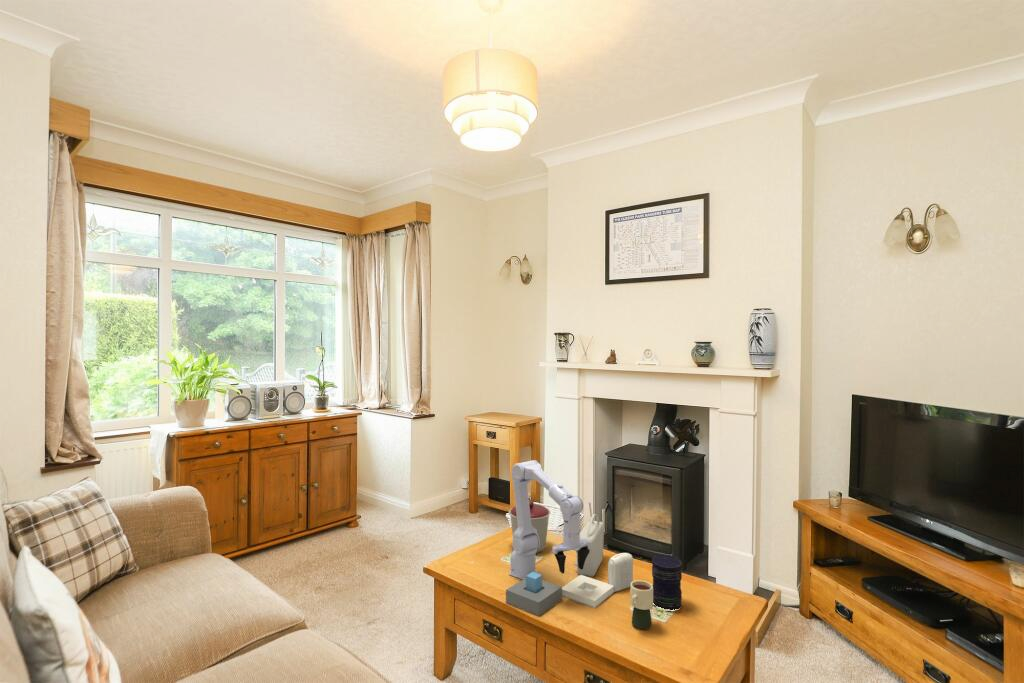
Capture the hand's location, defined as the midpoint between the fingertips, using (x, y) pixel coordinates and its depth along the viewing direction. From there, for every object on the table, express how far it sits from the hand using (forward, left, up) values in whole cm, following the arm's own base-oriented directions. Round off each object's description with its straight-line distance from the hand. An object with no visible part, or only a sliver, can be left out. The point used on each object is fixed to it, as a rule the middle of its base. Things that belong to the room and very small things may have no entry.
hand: (571, 570), depth 183 cm
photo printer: (+10, +19, -10) cm, 23 cm away
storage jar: (+28, +17, -10) cm, 34 cm away
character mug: (+27, -1, -10) cm, 29 cm away
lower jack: (+3, +6, -10) cm, 12 cm away
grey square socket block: (-9, -10, -10) cm, 17 cm away
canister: (-37, +25, -10) cm, 46 cm away
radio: (-8, +26, -10) cm, 30 cm away
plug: (-9, -10, -9) cm, 16 cm away
